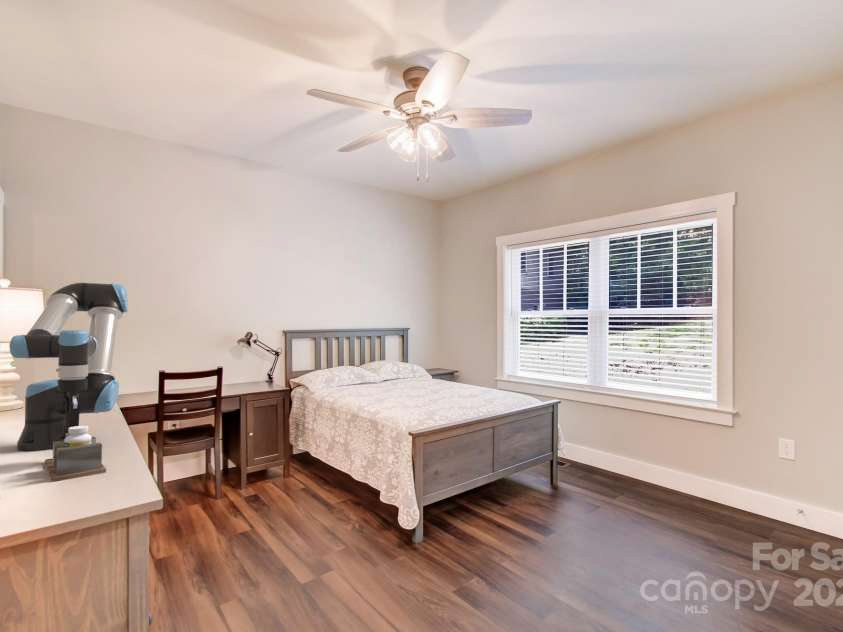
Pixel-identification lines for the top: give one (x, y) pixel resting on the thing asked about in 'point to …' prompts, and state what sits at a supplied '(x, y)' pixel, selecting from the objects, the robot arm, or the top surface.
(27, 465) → the top surface
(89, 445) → the vise bed
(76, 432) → the pill bottle
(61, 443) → the sliding jaw
